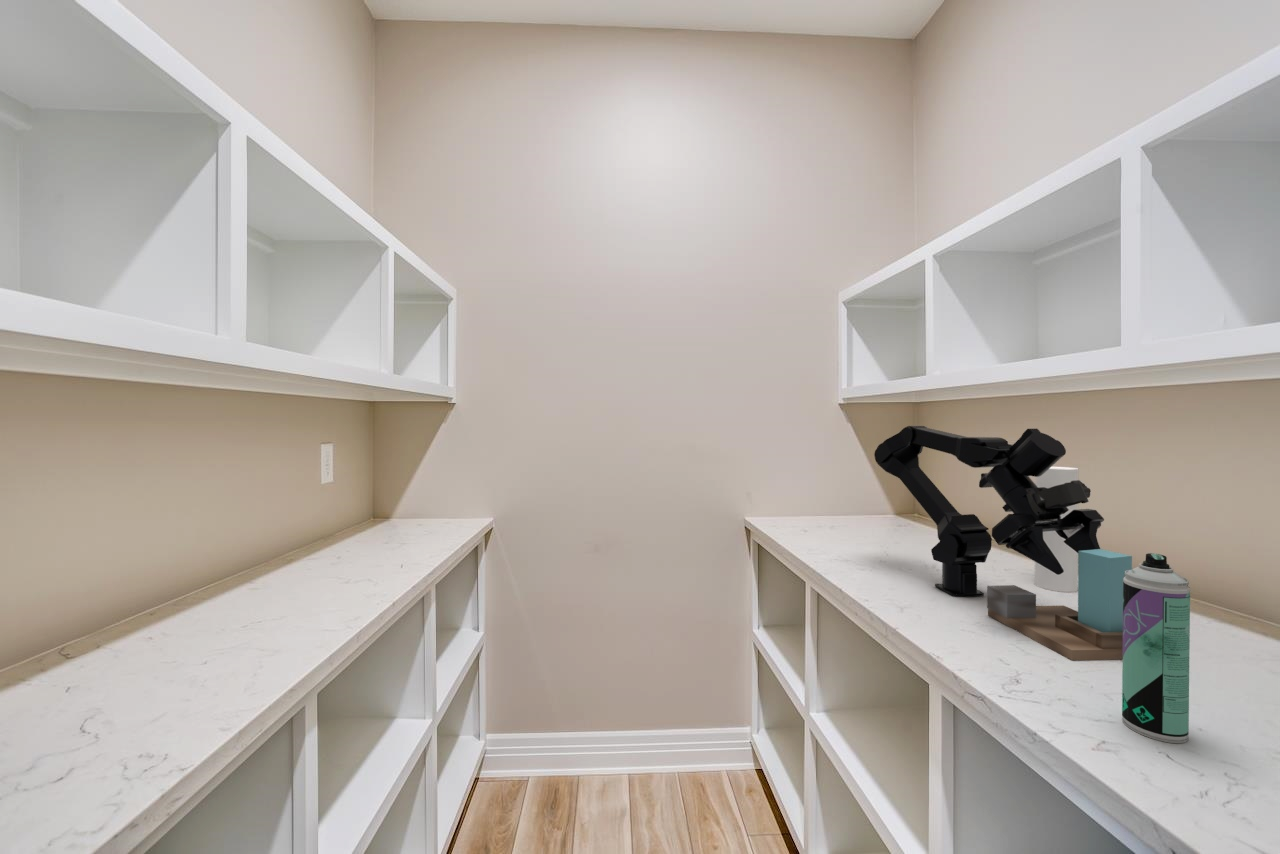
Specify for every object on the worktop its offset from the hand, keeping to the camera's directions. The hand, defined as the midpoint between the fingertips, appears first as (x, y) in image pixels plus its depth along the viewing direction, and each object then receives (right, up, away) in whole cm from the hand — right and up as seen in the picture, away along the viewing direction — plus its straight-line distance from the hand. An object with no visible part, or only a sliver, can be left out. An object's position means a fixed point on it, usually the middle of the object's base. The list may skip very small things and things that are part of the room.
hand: (1083, 571), depth 86 cm
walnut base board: (-1, -11, +2) cm, 11 cm away
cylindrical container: (+16, -11, +26) cm, 32 cm away
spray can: (-12, -12, -25) cm, 30 cm away
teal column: (+1, -9, -3) cm, 10 cm away
